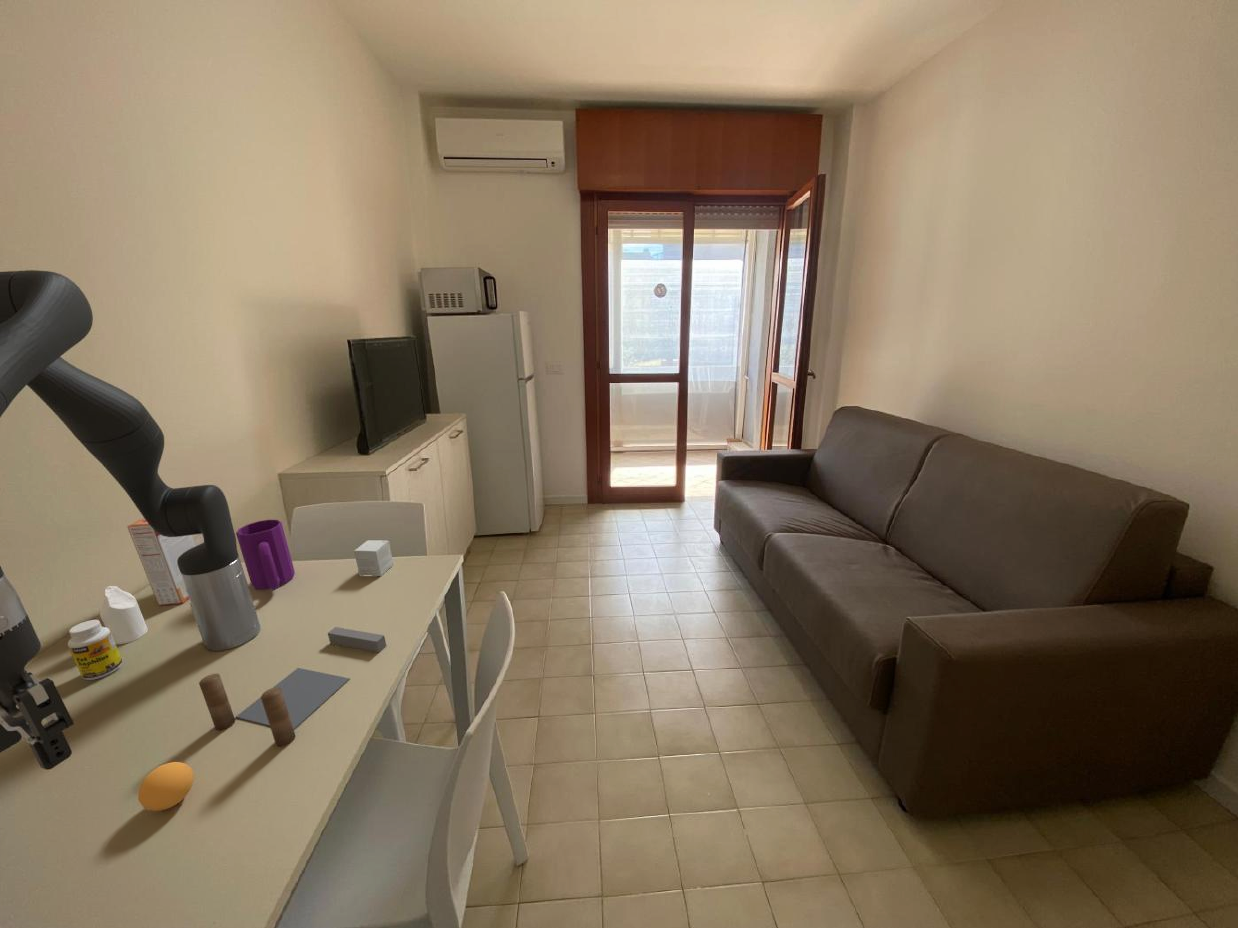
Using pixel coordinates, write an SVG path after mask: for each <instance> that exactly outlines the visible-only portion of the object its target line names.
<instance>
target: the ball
mask: <svg viewBox="0 0 1238 928" xmlns="http://www.w3.org/2000/svg"><path fill="white" fill-rule="evenodd" d="M194 779H195V778H194V771H193V770H192V767H190V766H189V765H188V764H187V763H184V762H179V761H172V762H166V763H164V764H162V765H160V766H158V767H156V768H155V769H153V770H152V771H150V773H148V775H146V777H145V778H144V779H143V781H142V782H141V784H140V786H139V788H138V792H137V793H138V794H137V797H138V798H137V799H138V802H139V803H140V806H142V807H143V809H146V810H148V811H153V812H160V811H164V810H167V809H170V808H172V807H174V806H176V805H177V804H178V803H180V802H181V801H182V800H184V798H186V796H187V795H188V794H189V793H190V791H191V788H192V786H193V784H194Z"/></svg>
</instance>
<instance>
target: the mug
mask: <svg viewBox="0 0 1238 928" xmlns="http://www.w3.org/2000/svg"><path fill="white" fill-rule="evenodd" d="M235 536H236V539H237V542H238V544H239V548H240V551H241V555H242V557H243V561H244V564H245V568H246V571H247V573H248V574H247V575H248V578H249V581H250V584H251V586H252V587H253V588H254V589H255V590H272V591H274V590H275V591H276V590H277V589H278V588H279V587H280V586H283V585H285V584H287V583H288V582H289V581H291V580H292V579H294V576H295V574H296V571H295V567H294V564H293V561H292V557H291V553H290V549H289V544H288V541H287V538H286V534H285V530H284V527H283V523H282V521H280V520H279V519H264V520H258V521H254V522H251V523H248V524H246V525H244V526H242V527H240V528H238V530H236V532H235Z"/></svg>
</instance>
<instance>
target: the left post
mask: <svg viewBox="0 0 1238 928" xmlns="http://www.w3.org/2000/svg"><path fill="white" fill-rule="evenodd" d="M198 684H199V688H200V690H201V693H202V695H203V698H204V701H205V703H206V707H207V709H208V711H209V715H210V717H211V720H212V723H213V726H214V729H215V731H217V732H220V731H221V732H222V731H225V730H226V729H229V728H230V727H232V726H233V725H234V724H235V722H236V717H235V715H234V712H233V710H232V706H231V704H230V701H229V697H228V694H227V692H226V689H225V687H224V684H223V681H222V677H221V675H220V674H219V673H211V674H209V675H207V676H205V677H203V678H202V679H201V680H199V682H198Z"/></svg>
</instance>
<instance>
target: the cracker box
mask: <svg viewBox="0 0 1238 928" xmlns="http://www.w3.org/2000/svg"><path fill="white" fill-rule="evenodd" d="M126 528H127V530H128V533H129V535H130V537H131V540H132V542H133V545H134V547H135V550H136V552H137V555H138V558H139V560H140V562H141V565H142V567H143V570H144V572H145V575H146V578H147V580H148V582H149V585H150V588H151V590H152V592H153V595H154V597H155V601H156V603H157V605H158V606H167V605H180V604H183V603H185V602H187V601H188V600H190V598H189V595H188V592H187V589H186V587H185V584H184V581H183V578H182V575H181V572H180V570H179V567H178V564H177V560H178V558H179V556H180V555H182V554H183V553H184V552H186V551H187V550H189V549H191V548H193V547H195V546H197V545H200V544H202V543H204V538H203V534H195V535H188V536H180V537H166V536H162V535H160V534H159V533H157V532H156V531H155V530H154V529H153V528H152V527H151V526H150V525H149V524H148V522H147V521H146V520H145V518H144V517H142V518H141V519H139V520H137V521H135V522H133V523H131V524H129V525H127V526H126Z"/></svg>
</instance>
